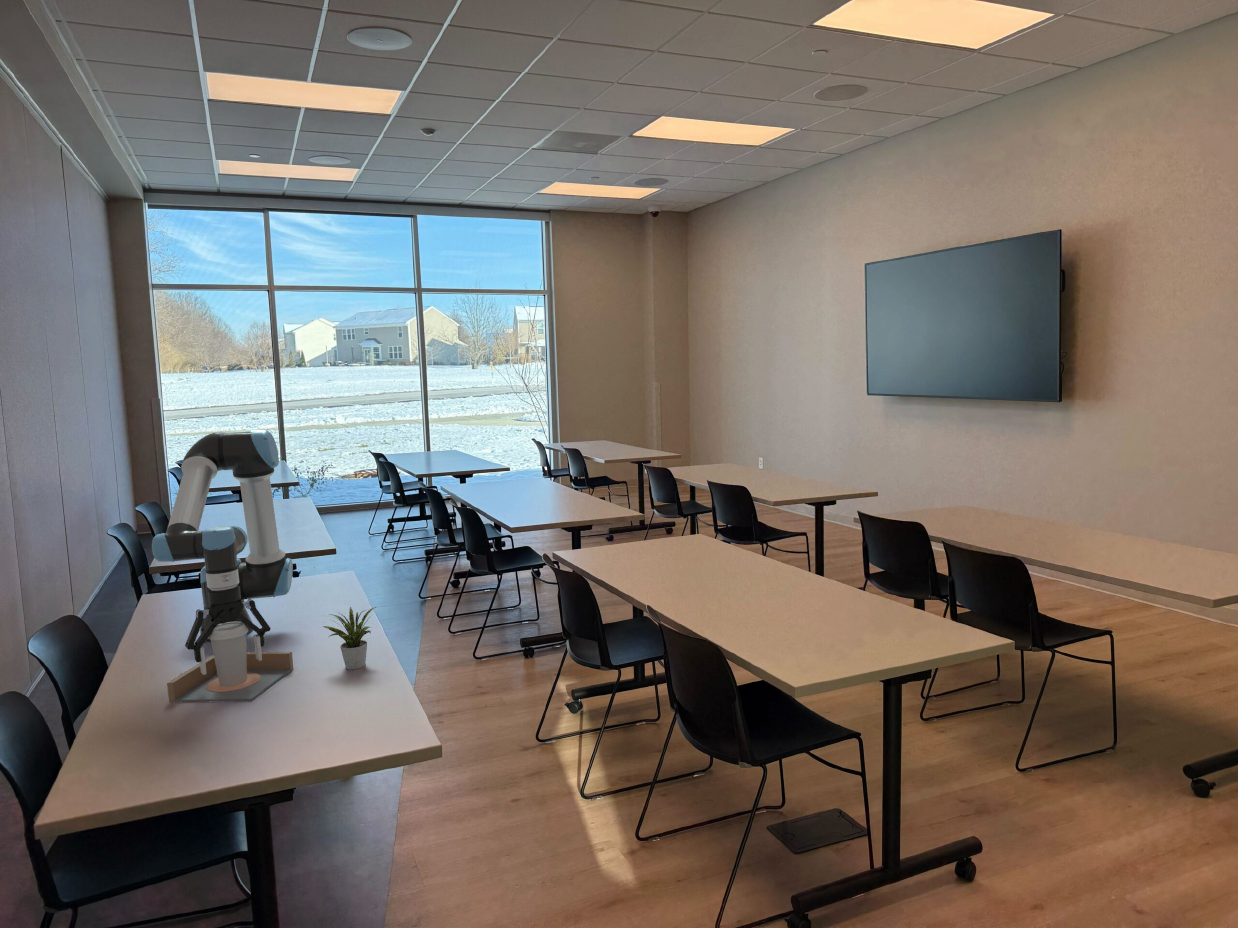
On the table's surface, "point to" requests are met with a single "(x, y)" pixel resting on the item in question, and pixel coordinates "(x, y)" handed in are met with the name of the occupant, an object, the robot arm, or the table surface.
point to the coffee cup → (230, 652)
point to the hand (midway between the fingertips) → (231, 666)
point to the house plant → (352, 640)
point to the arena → (208, 688)
